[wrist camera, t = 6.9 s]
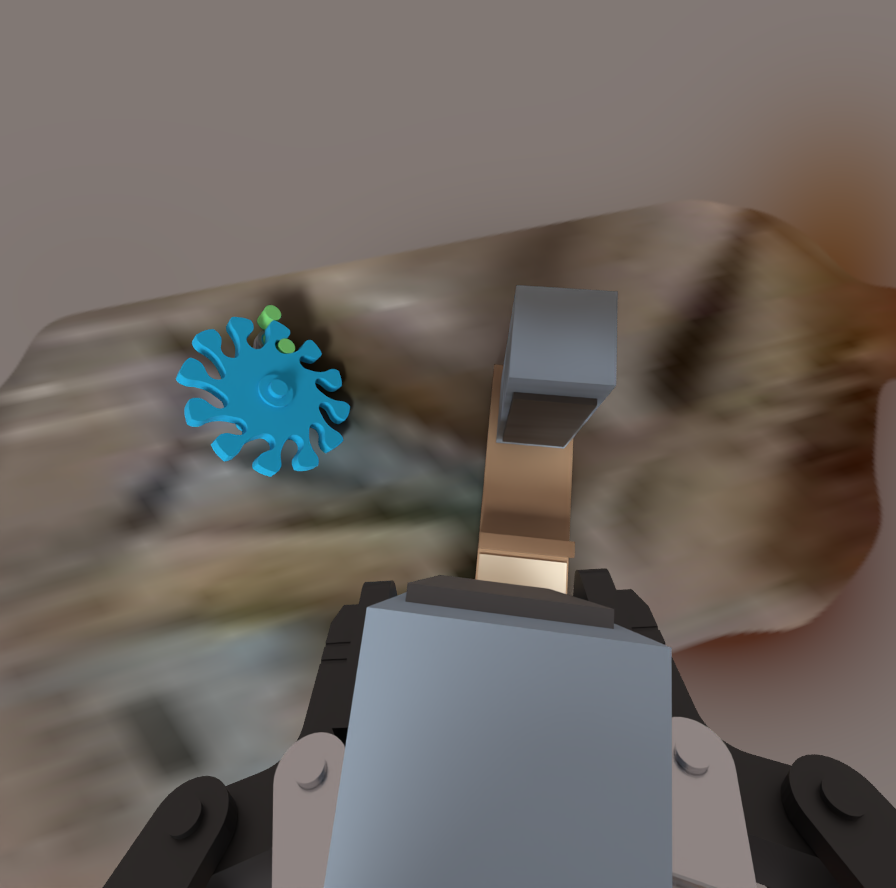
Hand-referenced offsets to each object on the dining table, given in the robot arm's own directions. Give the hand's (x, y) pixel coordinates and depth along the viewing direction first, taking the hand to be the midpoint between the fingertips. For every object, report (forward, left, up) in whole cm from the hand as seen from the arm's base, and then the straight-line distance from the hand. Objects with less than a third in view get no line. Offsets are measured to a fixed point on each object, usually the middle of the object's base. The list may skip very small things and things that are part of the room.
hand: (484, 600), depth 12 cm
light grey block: (0, -2, -4) cm, 5 cm away
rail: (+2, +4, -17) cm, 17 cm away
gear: (-13, +10, -17) cm, 24 cm away
